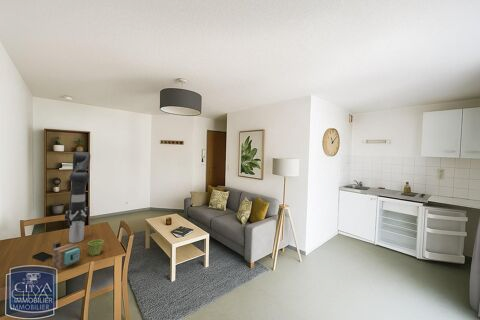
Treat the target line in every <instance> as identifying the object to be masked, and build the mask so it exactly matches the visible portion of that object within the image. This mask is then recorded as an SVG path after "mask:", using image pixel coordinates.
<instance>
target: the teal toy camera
mask: <svg viewBox="0 0 480 320" xmlns="http://www.w3.org/2000/svg"><path fill="white" fill-rule="evenodd" d="M75 253H77V254H78V256H77V258H75V259H72V258H71V255H72V254H75ZM80 255H81V248H79V249H78V248H76V249H73V250H70V251H67V252H65V255H64V264H70V263H72V262H75V261H77V260H78V261H79V260H80V259H81V258H80Z"/></svg>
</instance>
